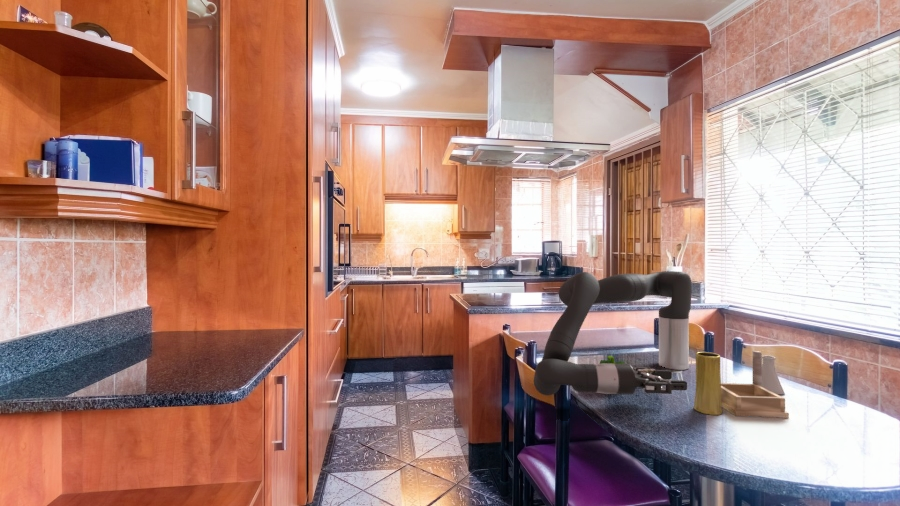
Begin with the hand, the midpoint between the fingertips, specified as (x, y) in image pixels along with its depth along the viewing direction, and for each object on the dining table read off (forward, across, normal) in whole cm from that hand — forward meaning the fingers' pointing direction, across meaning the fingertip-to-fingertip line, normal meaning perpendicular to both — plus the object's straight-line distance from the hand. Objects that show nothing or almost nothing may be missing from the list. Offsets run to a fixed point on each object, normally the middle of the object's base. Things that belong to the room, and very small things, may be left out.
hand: (678, 379), depth 105 cm
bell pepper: (-12, +15, +8) cm, 21 cm away
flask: (+32, +17, +8) cm, 37 cm away
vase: (+7, 0, +8) cm, 10 cm away
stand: (+18, +3, +8) cm, 20 cm away
